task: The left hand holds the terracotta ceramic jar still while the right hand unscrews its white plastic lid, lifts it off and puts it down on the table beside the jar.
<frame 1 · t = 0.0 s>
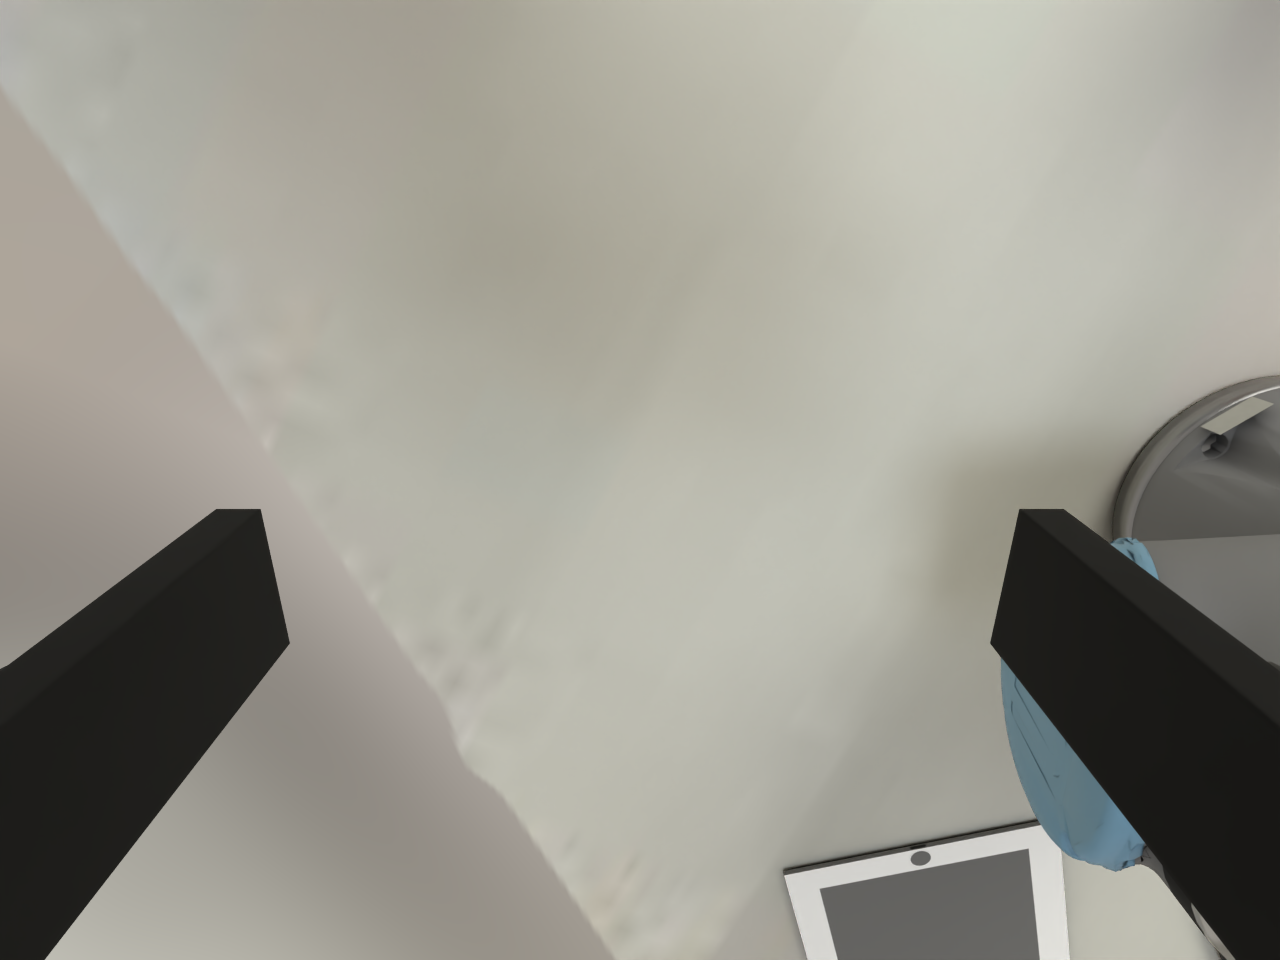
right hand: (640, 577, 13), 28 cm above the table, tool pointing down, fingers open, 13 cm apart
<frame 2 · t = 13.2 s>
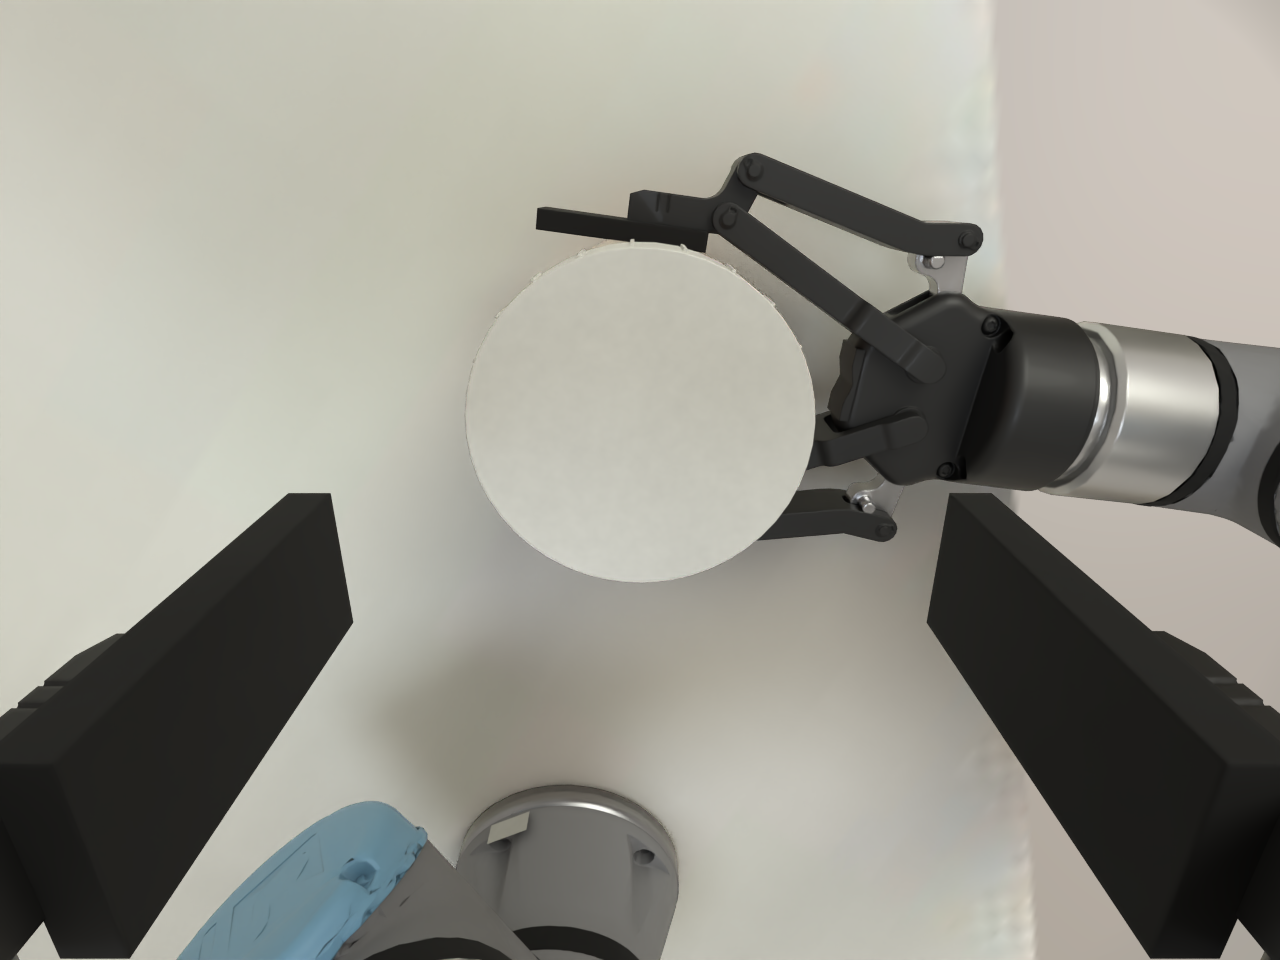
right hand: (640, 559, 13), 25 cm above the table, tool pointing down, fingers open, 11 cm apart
left hand: (532, 339, 30), fingers closed on jar, 9 cm apart
lid: (640, 426, 21), point 17 cm above the table, screwed on, not yet turned
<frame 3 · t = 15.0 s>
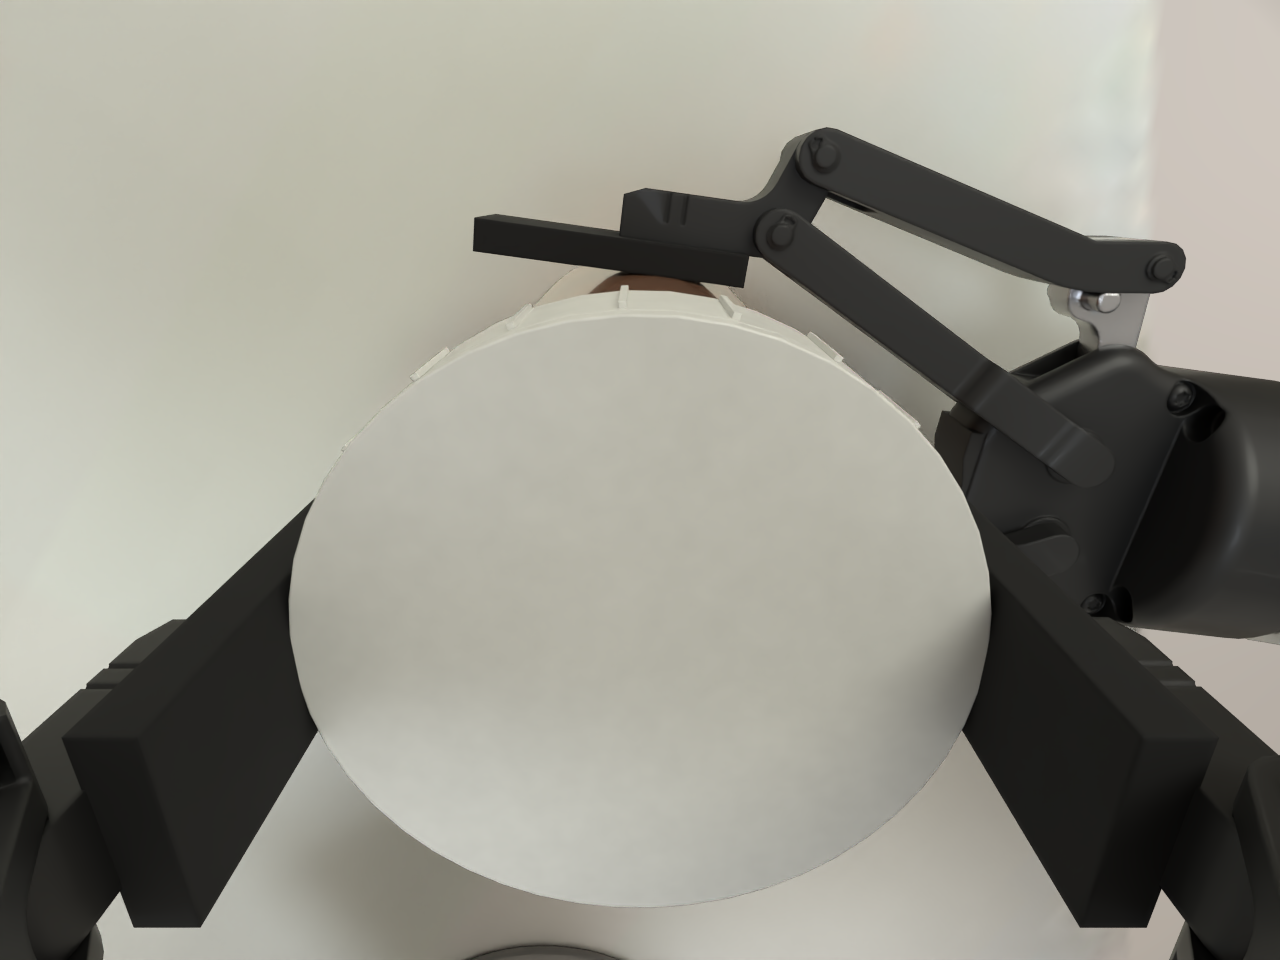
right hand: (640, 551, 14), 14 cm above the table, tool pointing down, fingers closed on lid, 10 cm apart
lid: (640, 651, 11), point 17 cm above the table, screwed on, not yet turned, touching right hand
jar: (639, 377, 26), on the table, touching left hand
when the right hand's fingers open (14 cm above the table, at t = 16.6 s): lid stays where it is, point 17 cm above the table.
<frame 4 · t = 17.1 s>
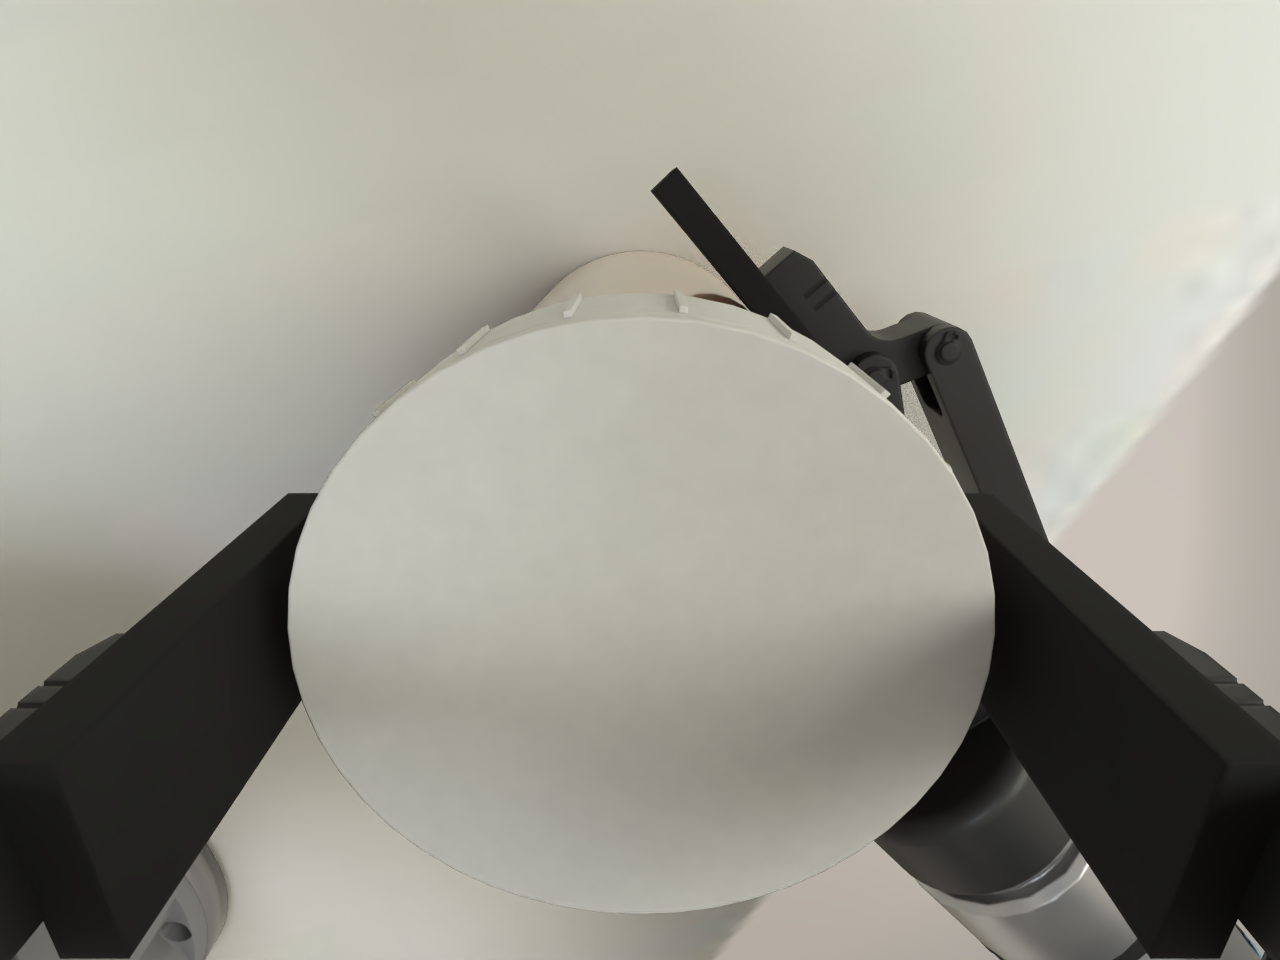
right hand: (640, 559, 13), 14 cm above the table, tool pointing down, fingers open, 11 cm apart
lid: (641, 656, 11), point 17 cm above the table, turned 98° so far, risen 0.2 cm, still on its thread
jar: (640, 377, 26), on the table, touching left hand
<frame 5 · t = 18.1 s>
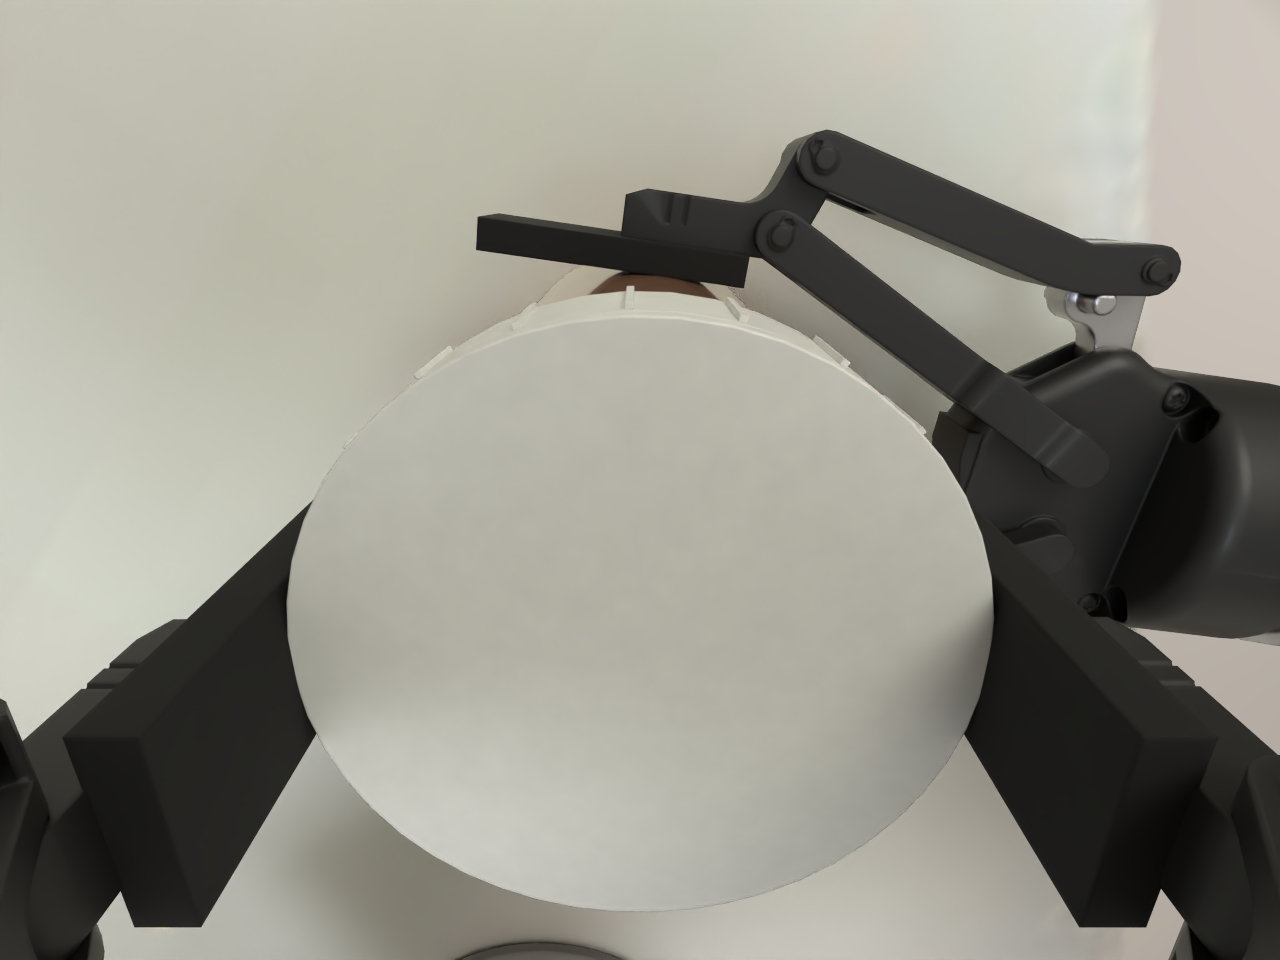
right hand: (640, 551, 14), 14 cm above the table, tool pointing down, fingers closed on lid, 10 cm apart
left hand: (478, 411, 20), fingers closed on jar, 9 cm apart
lid: (640, 654, 11), point 17 cm above the table, turned 98° so far, risen 0.2 cm, still on its thread, touching right hand
jar: (639, 376, 26), on the table, touching left hand
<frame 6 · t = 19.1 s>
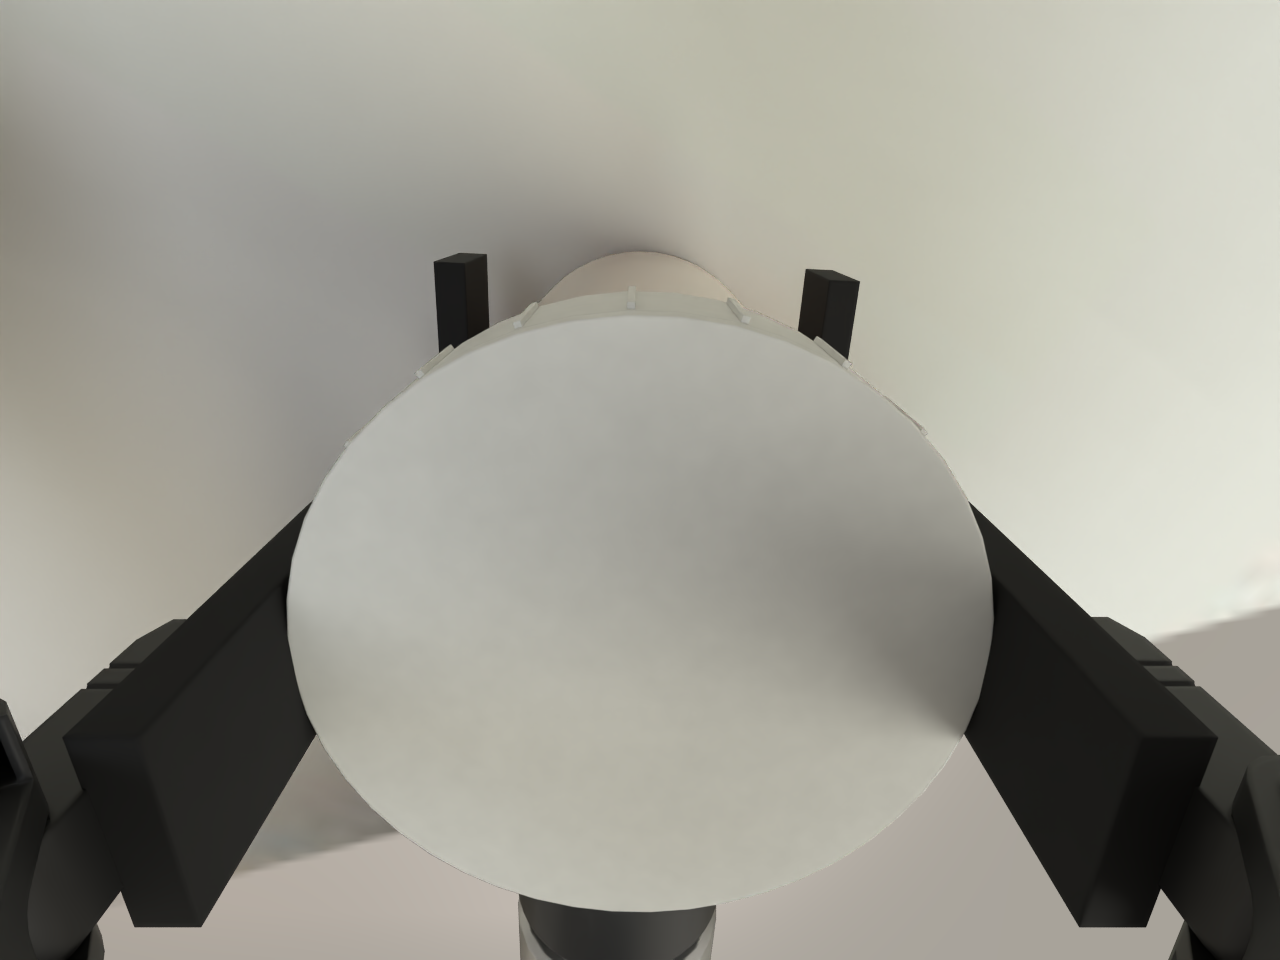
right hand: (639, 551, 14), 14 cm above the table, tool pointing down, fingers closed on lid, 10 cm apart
lid: (640, 654, 11), point 17 cm above the table, off its thread, touching right hand
jar: (639, 376, 27), on the table, touching left hand
when the right hand's fingers open (0 cm above the table, at t = 25.6 s): lid drops 2 cm, point 2 cm above the table.
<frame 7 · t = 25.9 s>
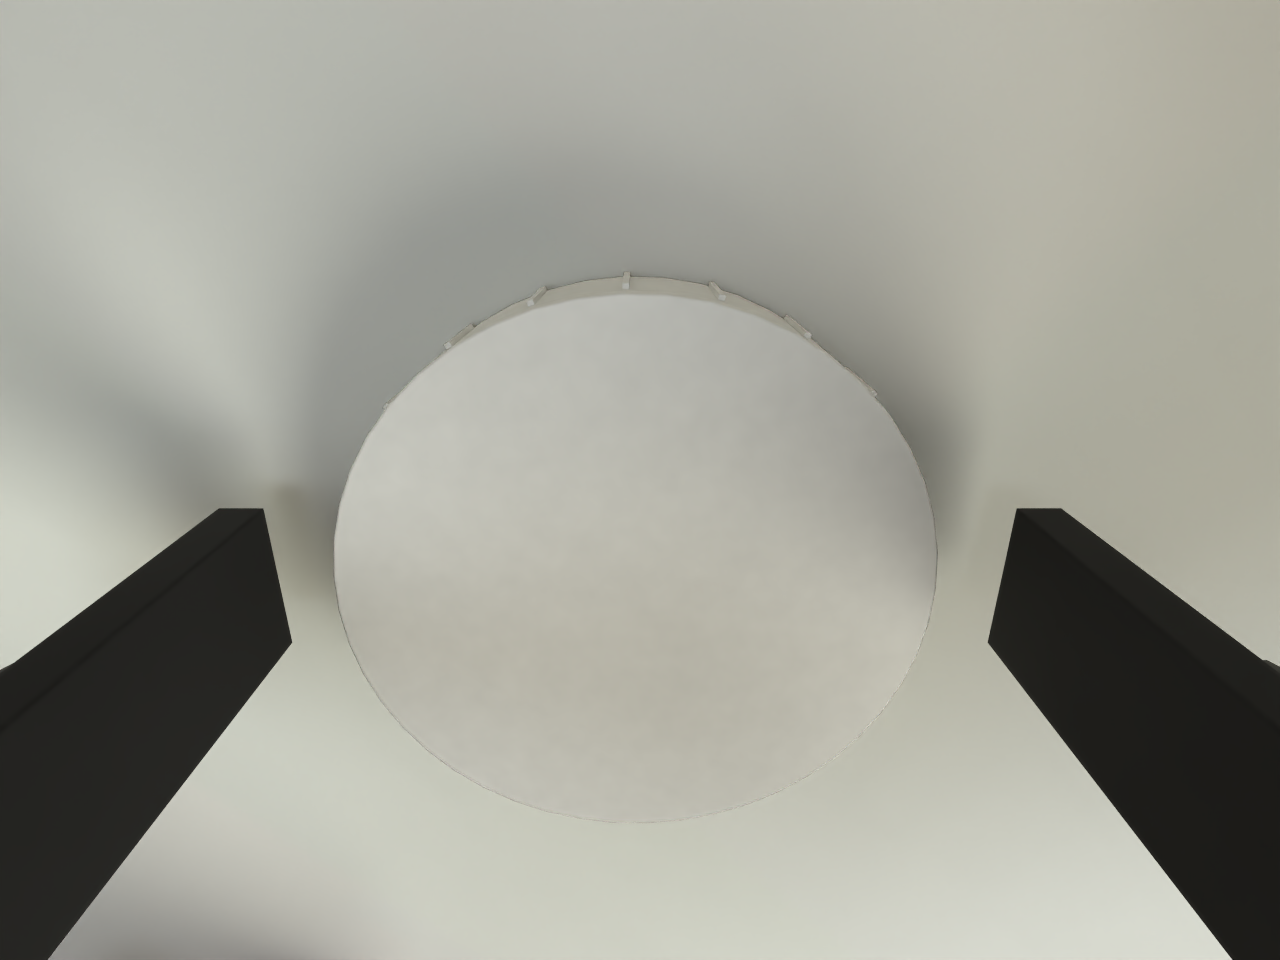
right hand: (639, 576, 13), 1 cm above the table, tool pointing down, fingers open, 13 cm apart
lid: (635, 589, 12), point 2 cm above the table, off its thread
when the left hand's fingers open (7 cm above the table, at t = 26.6 s): jar stays where it is, on the table.
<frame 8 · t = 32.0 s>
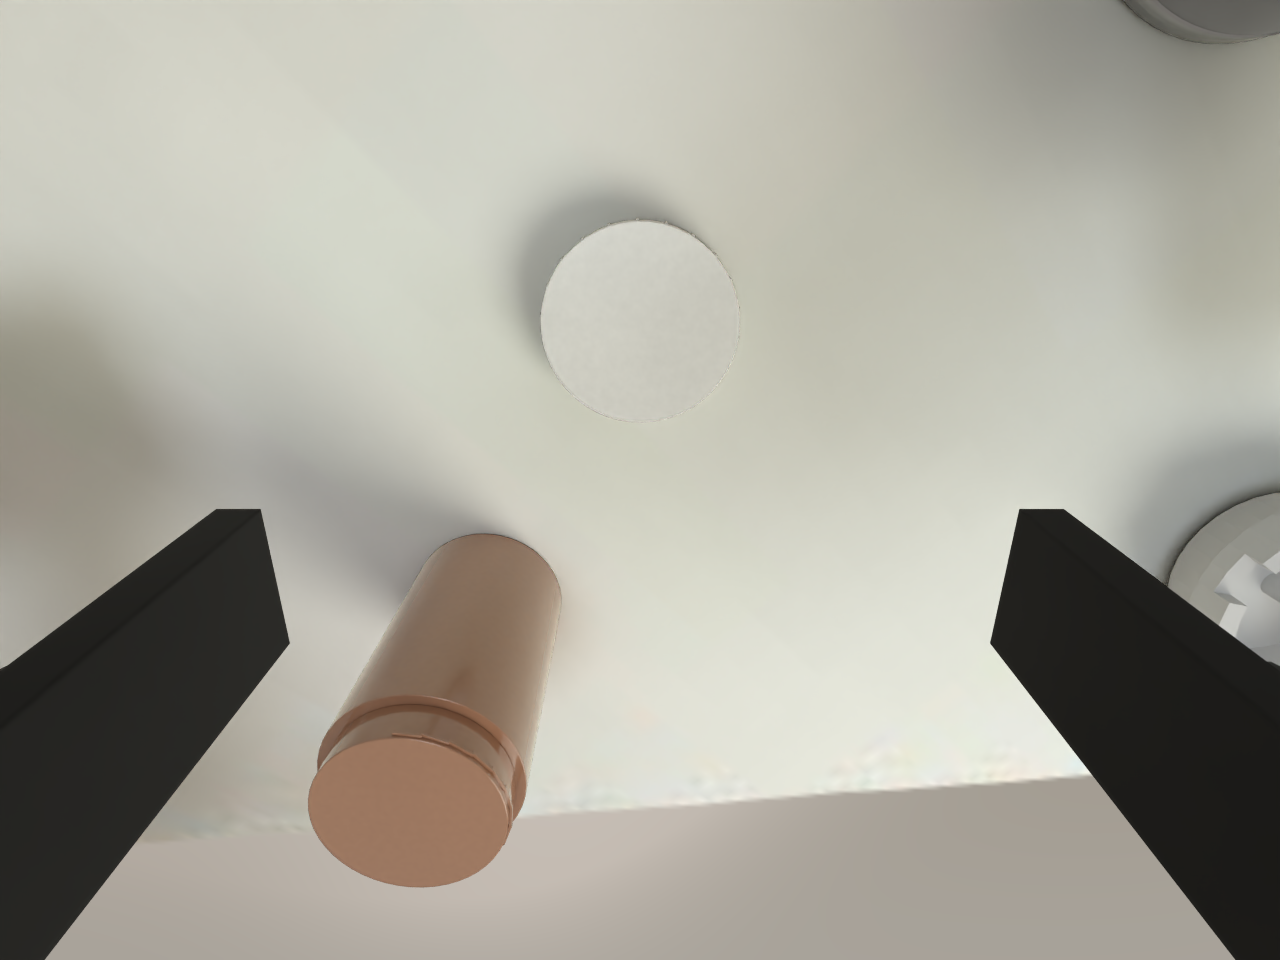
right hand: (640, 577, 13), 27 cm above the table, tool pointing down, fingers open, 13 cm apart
lid: (640, 325, 36), point 2 cm above the table, off its thread
jar: (489, 598, 44), on the table
flag stand: (1258, 573, 44), on the table
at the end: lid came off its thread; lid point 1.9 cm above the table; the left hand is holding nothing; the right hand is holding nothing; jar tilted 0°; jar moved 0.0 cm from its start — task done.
